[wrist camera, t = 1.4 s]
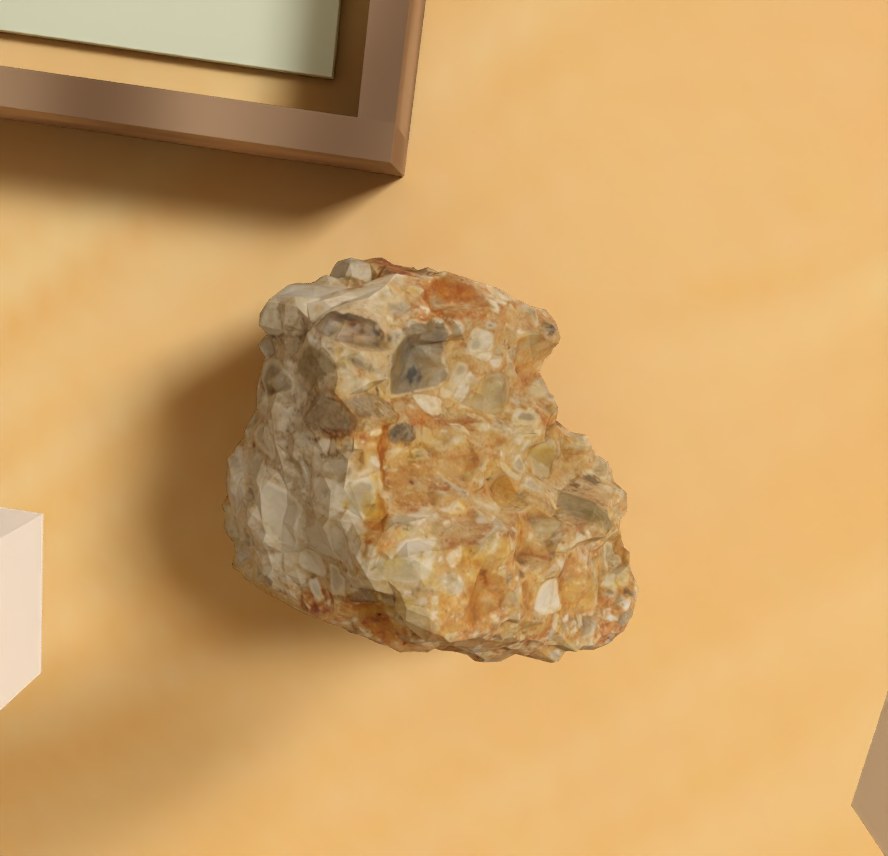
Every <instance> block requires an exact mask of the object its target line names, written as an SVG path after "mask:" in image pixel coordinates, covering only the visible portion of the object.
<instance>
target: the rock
mask: <svg viewBox="0 0 888 856" xmlns="http://www.w3.org/2000/svg"><path fill="white" fill-rule="evenodd" d="M259 326H260V327H261V328H262V329H263V330H264V331H265V332H266V333H267V334H268V335H266V336H265V337H264V338H263V339H262V340H261V342H260V343H259V345H258V346H259V348H260V350H261V351H262V353H263V355H264V356H265V360H264V363H263V366H262V369H261V373H260V377H259V382H258V386H257V410H256V411H255V413H254V415H253V416H252V418H251V420H250V421H249V423H248V425H247V427H246V429H245V432H244V438H243V439H242V440H241V441H240V443H239V444H238V445H237V447H236V449H235V450H234V452H233V453H232V454H231V455H230V457H229V458H228V460H227V497H226V499H225V501H224V503H223V505H222V507H223V509H224V512H225V521H224V527H225V530H226V532H227V535H228V536H229V537H230V538H231V539H232V541H233V542H234V546H235V552H236V555H235V556H234V560H233V563H232V566H233V568H234V569H236V570H238V571H241V573H242V574H243V576H244V577H245V579H246V580H249V581H251V582H252V583H253V584H255V585H256V586H257V587H258V588H260V589H261V590H263V591H264V592H266V593H267V594H269V595H271V596H274V597H275V598H277V599H279V600H281V601H282V602H284V603H286V604H288V605H289V606H291V607H293V608H295V609H297V610H299V611H301V612H303V613H305V614H308V615H310V616H313V617H315V618H318V619H320V620H323V621H325V622H328V623H331V624H335V625H338V626H341V627H343V628H344V629H346V630H347V631H349V632H350V633H355V634H360V635H362V636H364V637H366V638H368V639H370V640H373V641H375V642H377V643H379V644H382V645H386V646H389V647H391V648H393V649H395V650H397V651H399V652H407V651H410V652H411V651H417V652H429V651H431V650H432V649H434V648H435V649H438V650H443V651H454V652H459V653H463V654H467V655H468V656H469V657H471V658H472V659H473V660H474V661H479V662H498V661H502V660H504V659H506V658H508V657H510V656H512V655H514V654H519V655H522V656H526V657H530V658H534V659H538V660H542V661H546V662H550V663H552V662H557V661H559V659H560V658H561V657H562V655H563V654H564V652H565V651H575V652H576V651H578V650H594V649H596V648H599V647H601V646H604V645H606V644H608V643H610V642H611V641H612V640H613V639H614V638H615V637H616V636H617V635H618V634H620V633H621V632H623V631H624V629H625V627H626V625H627V623H628V621H629V620H630V618H631V617H632V615H633V610H634V606H635V602H636V598H637V593H638V589H639V588H638V586H637V583H636V581H635V579H634V577H633V575H632V572H631V568H630V565H629V551H627V550H626V549H625V548H624V546H623V543H622V540H621V532H620V519H621V518H622V517H623V516H624V515H625V513H626V512H627V493H626V492H625V491H624V490H623V489H621V488H620V487H619V486H618V485H617V484H616V483H615V482H614V481H613V476H612V471H611V469H610V467H609V465H608V462H607V461H605V460H604V459H603V458H601V457H600V456H599V455H598V454H597V453H596V452H595V451H594V450H593V449H592V448H591V445H590V442H589V439H588V438H587V436H586V435H583V434H577V433H572V432H570V431H569V430H568V429H566V428H565V427H564V426H562V425H561V424H560V423H559V422H558V421H556V417H557V411H558V407H557V404H556V401H555V399H554V396H553V395H551V394H550V393H549V391H548V389H547V386H546V384H545V382H544V380H543V379H542V377H541V375H540V373H539V372H540V369H541V367H542V364H543V361H544V359H545V358H546V357H547V356H548V355H550V354H551V352H552V349H553V348H554V347H555V346H556V345H557V344H558V343H559V341H560V335H559V332H558V328H557V325H556V322H555V320H554V319H553V318H552V317H551V316H550V314H549V313H548V312H547V311H546V310H544V309H540V308H536V307H531V306H529V305H527V304H525V303H524V302H522V301H519V300H516V299H514V298H512V297H511V296H510V295H508V294H507V293H506V292H504V291H502V290H500V289H498V288H496V287H493V286H490V285H486V284H483V283H479V282H476V281H473V280H470V279H467V278H465V277H462V276H458V275H455V274H452V273H449V272H446V271H444V272H437V271H434V270H432V269H430V268H428V267H427V268H424V269H421V270H416V269H415V268H414V267H412V268H409V267H403V266H398V265H393V264H391V263H390V262H388V261H387V260H385V259H383V258H372V259H368V260H364V261H362V260H358V259H353V258H349V259H345V260H342V261H338V262H337V263H336V264H335V266H334V268H333V270H332V272H331V274H330V276H328V275H326V276H323V277H321V278H319V279H318V280H317V281H316V282H312V283H296V284H291V285H288V286H286V287H285V288H284V289H283V290H281V291H280V292H279V293H277V294H276V295H275V296H273V297H272V298H271V299H269V301H268V302H267V303H266V305H265V307H264V308H263V310H262V311H261V313H260V319H259Z"/></svg>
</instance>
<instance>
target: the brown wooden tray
mask: <svg viewBox="0 0 888 856" xmlns="http://www.w3.org/2000/svg"><path fill="white" fill-rule="evenodd" d="M425 1H426V0H370V5H369V14H368V24H367V33H366V42H365V52H364V61H363V71H362V80H361V89H360V99H359V108H358V117H352V116H345V115H338V114H331V113H324V112H318V111H311V110H304V109H297V108H290V107H283V106H276V105H269V104H262V103H255V102H248V101H241V100H234V99H228V98H221V97H214V96H207V95H200V94H193V93H186V92H179V91H172V90H165V89H158V88H151V87H144V86H137V85H131V84H124V83H117V82H110V81H103V80H96V79H89V78H82V77H75V76H68V75H61V74H54V73H47V72H40V71H34V70H27V69H20V68H13V67H6V66H0V118H5V119H12V120H19V121H26V122H33V123H39V124H46V125H53V126H60V127H67V128H74V129H81V130H88V131H94V132H101V133H108V134H115V135H122V136H129V137H136V138H143V139H149V140H156V141H163V142H170V143H177V144H184V145H191V146H198V147H204V148H211V149H218V150H225V151H232V152H239V153H246V154H253V155H259V156H266V157H273V158H280V159H287V160H294V161H301V162H308V163H314V164H321V165H328V166H335V167H342V168H349V169H356V170H363V171H369V172H376V173H383V174H390V175H397V176H404V172H405V164H406V155H407V147H408V139H409V131H410V123H411V115H412V107H413V98H414V90H415V82H416V74H417V66H418V58H419V50H420V41H421V33H422V25H423V17H424V9H425Z"/></svg>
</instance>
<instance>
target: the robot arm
mask: <svg viewBox="0 0 888 856" xmlns="http://www.w3.org/2000/svg"><path fill="white" fill-rule="evenodd" d="M42 565H43V514H41V513H35V512H29V511H22V510H16V509H10V508H3V507H0V710H1V709H2V708H3V707H4V706H5V705H6V704H7V703H9V702H10V701H11V700H12V699H13V698H14V697H15V696H16V695H17V694H18V693H19V692H20V691H22V690H23V689H24V688H25V687H26V686H27V685H28V684H29V683H30V682H31V681H32V680H33V679H35V678H36V677H37V676H38V675H39V674H40V673H41V643H42ZM851 806H852V807H853V809H854V810H855V812H856V813H857V815H858V816H859V818H860V819H861V821H862V822H863V824H864V825H865V827H866V828H867V830H868V831H869V833H870V834H871V836H872V837H873V839H874V840H875V842H876V843H877V845H878V846H879V848H880V849H881V851H882V852H883V854H884V855H885V856H888V693H887V696H886V699H885V702H884V705H883V709H882V712H881V715H880V718H879V721H878V724H877V727H876V730H875V733H874V736H873V739H872V742H871V746H870V749H869V752H868V755H867V758H866V761H865V764H864V767H863V770H862V773H861V776H860V779H859V783H858V786H857V789H856V792H855V795H854V798H853V801H852V804H851Z"/></svg>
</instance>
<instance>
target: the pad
mask: <svg viewBox="0 0 888 856" xmlns="http://www.w3.org/2000/svg"><path fill="white" fill-rule="evenodd" d="M340 9H341V0H0V32H7V33H14V34H21V35H28V36H35V37H42V38H49V39H56V40H63V41H69V42H76V43H83V44H90V45H97V46H104V47H111V48H118V49H125V50H132V51H139V52H146V53H153V54H160V55H167V56H174V57H181V58H188V59H195V60H202V61H209V62H216V63H223V64H230V65H237V66H244V67H251V68H257V69H264V70H271V71H278V72H285V73H292V74H299V75H306V76H313V77H320V78H327V79H334V70H335V60H336V50H337V40H338V29H339V19H340Z"/></svg>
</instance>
